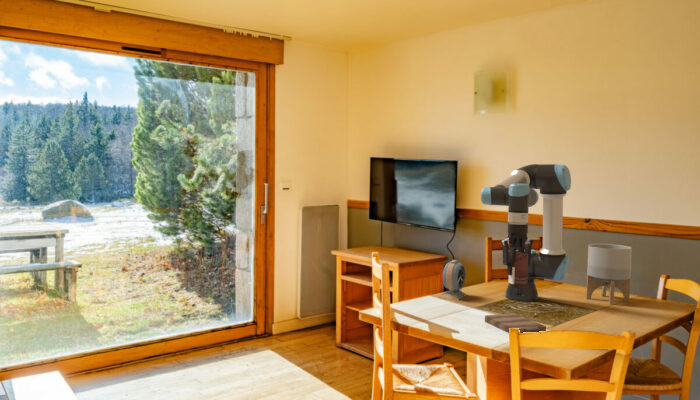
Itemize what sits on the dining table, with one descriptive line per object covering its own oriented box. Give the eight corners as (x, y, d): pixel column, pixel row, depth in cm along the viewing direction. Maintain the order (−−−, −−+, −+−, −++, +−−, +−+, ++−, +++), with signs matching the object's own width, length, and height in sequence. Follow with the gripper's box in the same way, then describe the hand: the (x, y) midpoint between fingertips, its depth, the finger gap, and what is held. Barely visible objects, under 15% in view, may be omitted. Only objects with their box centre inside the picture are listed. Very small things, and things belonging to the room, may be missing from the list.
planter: (590, 303, 256) (592, 248, 255) (583, 294, 275) (585, 242, 273) (634, 306, 252) (636, 250, 250) (623, 297, 270) (626, 244, 269)
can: (507, 285, 216) (508, 250, 215) (520, 284, 218) (521, 250, 217) (516, 289, 210) (517, 253, 209) (530, 288, 212) (531, 252, 211)
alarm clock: (457, 300, 257) (458, 263, 256) (438, 297, 262) (439, 261, 261) (468, 294, 269) (469, 259, 268) (449, 292, 274) (450, 257, 273)
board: (484, 321, 222) (484, 315, 222) (514, 318, 226) (514, 313, 226) (518, 337, 201) (518, 331, 200) (550, 334, 205) (550, 328, 205)
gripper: (505, 224, 206) (503, 286, 207) (541, 224, 211) (539, 283, 213) (494, 222, 213) (492, 282, 214) (529, 222, 218) (527, 280, 220)
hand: (515, 282), depth 214 cm, fingers open, 3 cm apart
